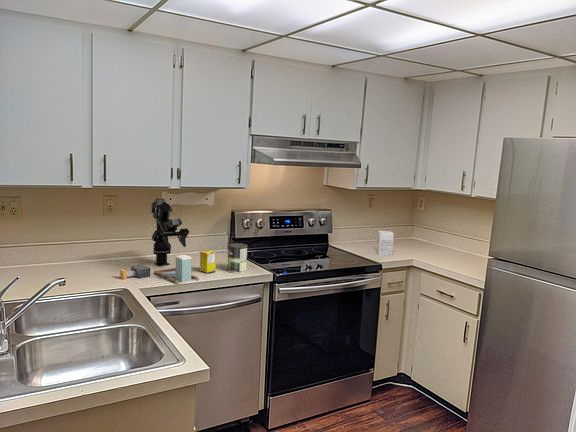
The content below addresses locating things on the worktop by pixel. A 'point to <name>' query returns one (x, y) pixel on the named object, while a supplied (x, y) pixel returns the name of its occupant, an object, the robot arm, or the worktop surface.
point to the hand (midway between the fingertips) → (177, 247)
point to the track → (171, 275)
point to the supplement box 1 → (207, 261)
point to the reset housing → (141, 271)
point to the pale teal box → (183, 268)
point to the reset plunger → (126, 273)
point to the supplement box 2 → (385, 243)
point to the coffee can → (237, 257)
